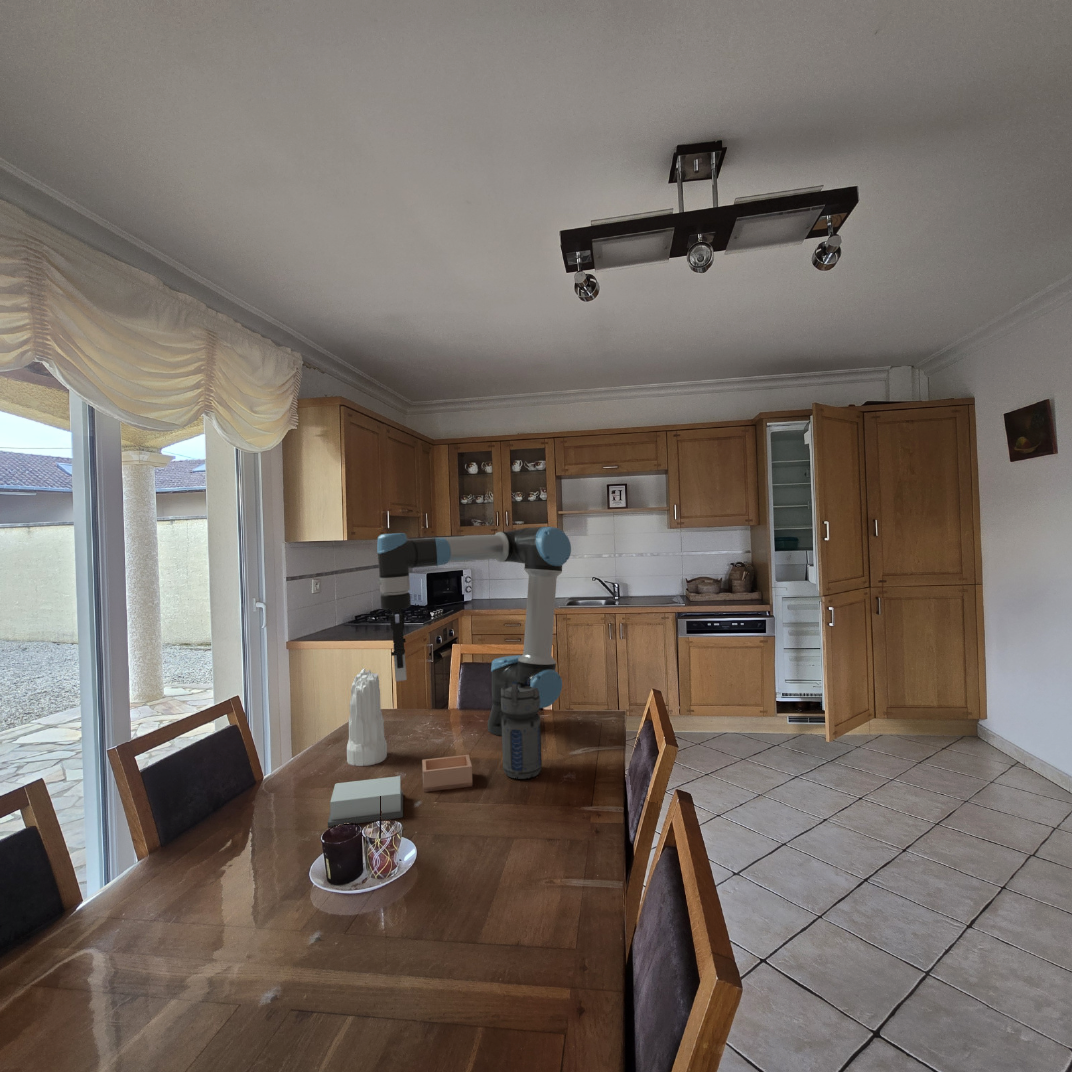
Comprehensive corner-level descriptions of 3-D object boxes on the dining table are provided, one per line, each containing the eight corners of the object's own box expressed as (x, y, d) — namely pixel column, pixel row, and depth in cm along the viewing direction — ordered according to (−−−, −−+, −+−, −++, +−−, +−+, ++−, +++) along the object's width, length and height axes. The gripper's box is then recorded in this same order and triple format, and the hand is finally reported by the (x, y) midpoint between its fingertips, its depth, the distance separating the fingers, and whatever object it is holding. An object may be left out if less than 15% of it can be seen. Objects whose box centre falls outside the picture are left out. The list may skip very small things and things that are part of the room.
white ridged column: (380, 765, 164) (377, 675, 164) (341, 766, 164) (338, 676, 164) (390, 751, 175) (388, 666, 175) (354, 751, 175) (351, 667, 175)
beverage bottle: (547, 763, 162) (545, 671, 162) (536, 783, 149) (532, 684, 149) (512, 760, 165) (509, 670, 165) (497, 780, 152) (494, 683, 152)
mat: (402, 794, 146) (402, 790, 146) (402, 817, 134) (402, 813, 134) (334, 803, 142) (334, 798, 142) (327, 827, 130) (327, 822, 130)
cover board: (400, 792, 145) (400, 776, 144) (400, 811, 135) (399, 793, 135) (335, 800, 141) (335, 783, 141) (330, 820, 132) (330, 802, 132)
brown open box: (469, 773, 157) (468, 754, 157) (472, 786, 149) (471, 766, 149) (422, 779, 154) (422, 759, 154) (423, 792, 147) (423, 771, 147)
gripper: (380, 589, 166) (385, 664, 167) (379, 599, 142) (385, 688, 143) (408, 586, 168) (413, 661, 169) (411, 597, 144) (417, 684, 144)
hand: (400, 674), depth 156 cm, fingers open, 13 cm apart
